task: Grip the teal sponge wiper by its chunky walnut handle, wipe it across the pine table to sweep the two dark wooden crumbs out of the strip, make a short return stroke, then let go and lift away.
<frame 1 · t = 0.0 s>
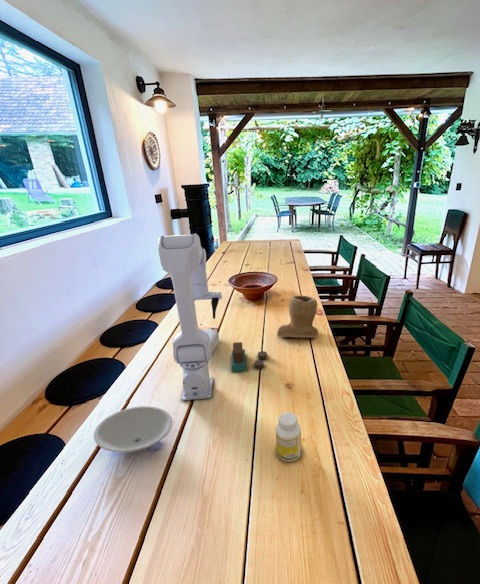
hand: (203, 318, 116), 10 cm above the table, tool pointing down, fingers open, 7 cm apart
crumb b: (262, 357, 109), on the table
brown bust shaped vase: (298, 334, 125), on the table
crumb a: (259, 366, 104), on the table
supplement bottle: (288, 453, 72), on the table
dish: (138, 443, 76), on the table
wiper: (239, 363, 107), on the table
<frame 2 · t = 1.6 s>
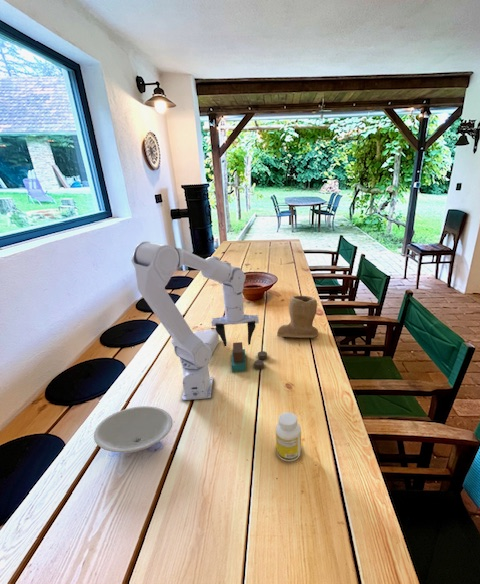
hand: (237, 344, 104), 7 cm above the table, tool pointing down, fingers open, 7 cm apart
nothing on the table moved.
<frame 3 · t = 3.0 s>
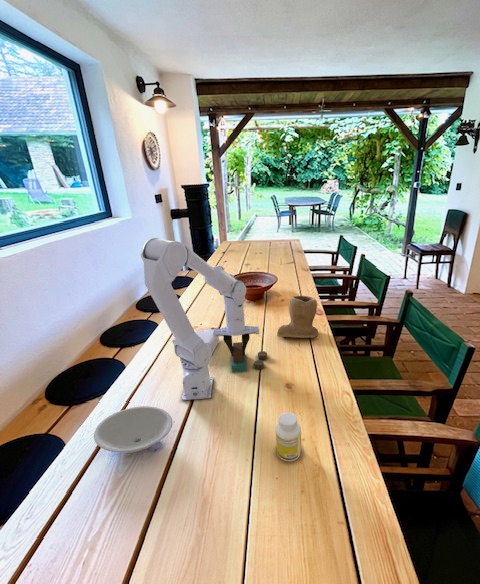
hand: (238, 354, 105), 3 cm above the table, tool pointing down, fingers closed on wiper, 3 cm apart
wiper: (238, 363, 107), on the table, touching gripper
everything else where it was.
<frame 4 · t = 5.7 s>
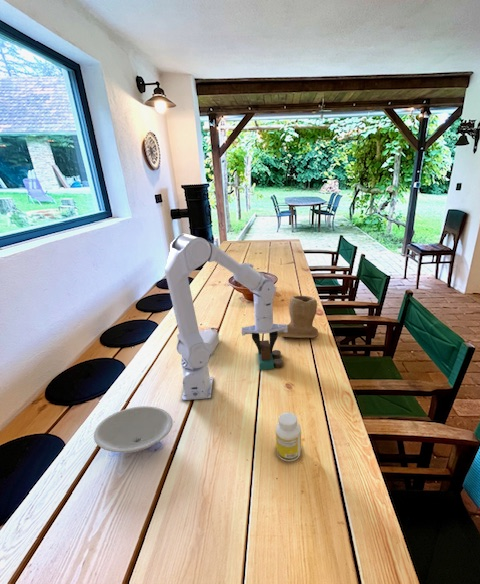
hand: (265, 352, 106), 3 cm above the table, tool pointing down, fingers closed on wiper, 3 cm apart
crumb b: (276, 356, 110), on the table
crumb a: (278, 365, 105), on the table, touching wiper
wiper: (265, 361, 107), on the table, touching crumb a, gripper
everything else where it was.
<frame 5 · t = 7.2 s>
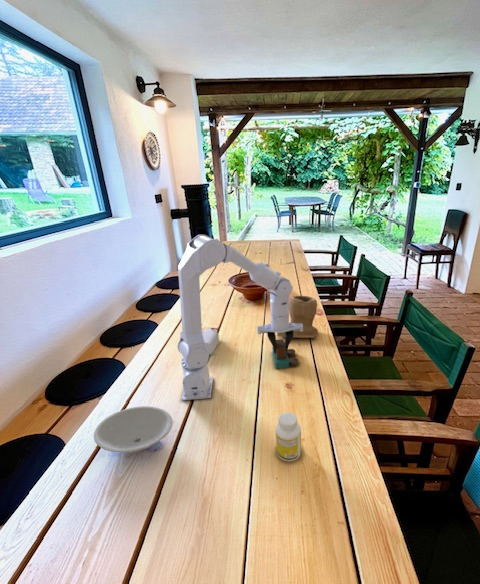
hand: (280, 351, 106), 3 cm above the table, tool pointing down, fingers closed on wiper, 3 cm apart
crumb b: (290, 355, 110), on the table, touching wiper
crumb a: (293, 364, 105), on the table, touching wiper
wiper: (280, 360, 108), on the table, touching crumb a, crumb b, gripper
everything else where it was.
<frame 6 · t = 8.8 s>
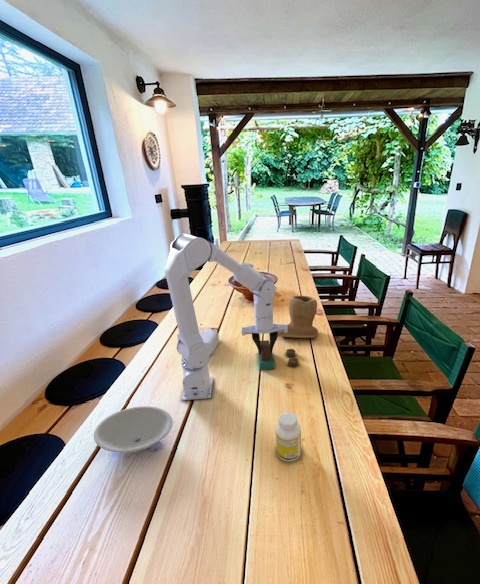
hand: (265, 352, 106), 3 cm above the table, tool pointing down, fingers closed on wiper, 3 cm apart
crumb b: (290, 355, 110), on the table
crumb a: (293, 364, 105), on the table
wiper: (265, 361, 107), on the table, touching gripper
everything else where it was.
when the fingers open (3 cm above the table, at t = 9.4 s): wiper stays where it is, on the table.
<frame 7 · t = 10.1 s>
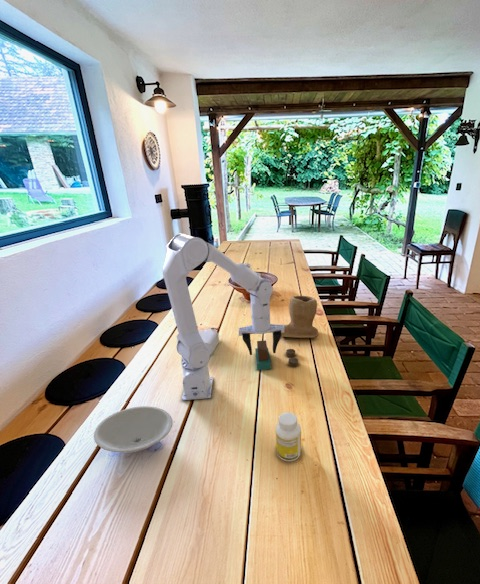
hand: (262, 352, 106), 3 cm above the table, tool pointing down, fingers open, 7 cm apart
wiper: (262, 361, 107), on the table
everything else where it was.
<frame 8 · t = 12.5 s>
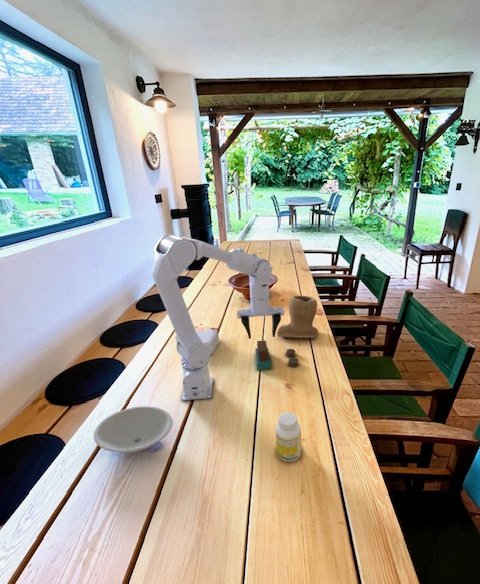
hand: (261, 336, 103), 9 cm above the table, tool pointing down, fingers open, 7 cm apart
nothing on the table moved.
at the end: crumb a inside the target area (2.7 cm from its centre), on the table; crumb b inside the target area (3.2 cm from its centre), on the table; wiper tilted 0° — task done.
